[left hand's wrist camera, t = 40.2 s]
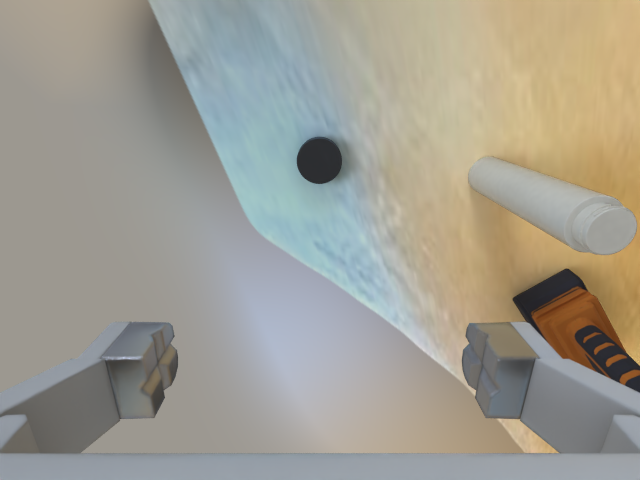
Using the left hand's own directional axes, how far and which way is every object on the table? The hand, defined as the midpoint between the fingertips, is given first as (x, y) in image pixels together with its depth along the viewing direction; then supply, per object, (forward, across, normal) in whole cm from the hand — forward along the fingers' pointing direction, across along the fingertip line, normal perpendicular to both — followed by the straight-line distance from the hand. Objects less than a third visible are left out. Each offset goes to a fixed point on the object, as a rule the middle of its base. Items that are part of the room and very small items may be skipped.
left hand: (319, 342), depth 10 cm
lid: (+32, 0, 0) cm, 32 cm away
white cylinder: (+33, +19, -2) cm, 38 cm away
